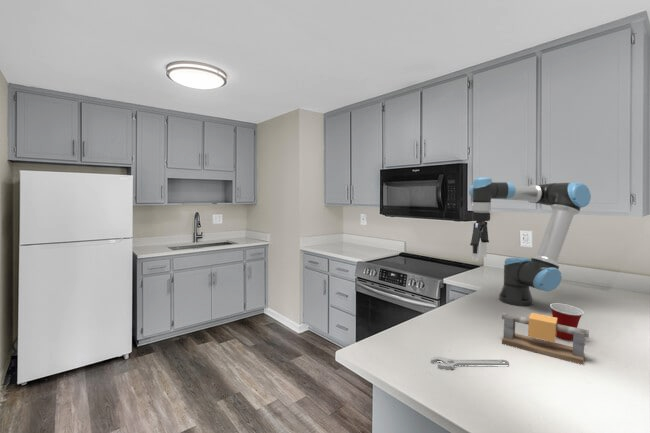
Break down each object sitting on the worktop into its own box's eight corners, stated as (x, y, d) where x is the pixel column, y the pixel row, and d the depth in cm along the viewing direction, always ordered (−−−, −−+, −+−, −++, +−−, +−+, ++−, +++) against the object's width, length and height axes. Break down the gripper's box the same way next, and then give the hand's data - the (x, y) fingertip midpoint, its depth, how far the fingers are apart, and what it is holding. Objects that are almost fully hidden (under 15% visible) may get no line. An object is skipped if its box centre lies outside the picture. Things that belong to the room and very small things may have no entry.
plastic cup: (567, 345, 122) (569, 313, 121) (541, 333, 133) (543, 304, 132) (589, 342, 125) (591, 311, 124) (562, 330, 136) (563, 302, 135)
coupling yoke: (530, 329, 124) (531, 312, 124) (556, 335, 119) (557, 317, 119) (528, 336, 119) (528, 318, 119) (554, 342, 114) (555, 323, 114)
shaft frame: (504, 334, 132) (505, 309, 131) (587, 354, 115) (589, 326, 115) (498, 343, 124) (500, 316, 123) (587, 365, 107) (588, 335, 107)
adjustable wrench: (506, 363, 110) (506, 358, 110) (516, 374, 103) (516, 368, 103) (429, 360, 111) (430, 355, 111) (435, 370, 105) (435, 365, 104)
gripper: (479, 210, 161) (477, 253, 162) (464, 212, 141) (462, 261, 143) (496, 211, 156) (494, 255, 158) (483, 213, 137) (481, 263, 138)
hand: (479, 258), depth 150 cm, fingers open, 13 cm apart
